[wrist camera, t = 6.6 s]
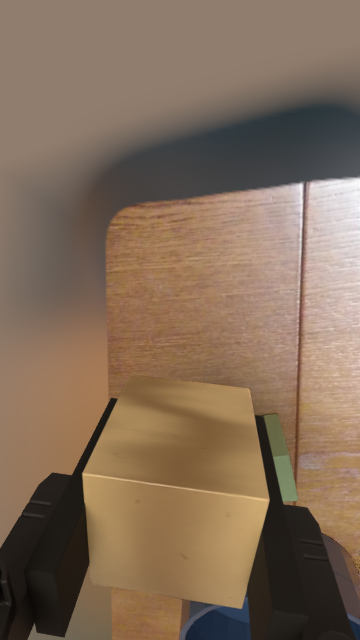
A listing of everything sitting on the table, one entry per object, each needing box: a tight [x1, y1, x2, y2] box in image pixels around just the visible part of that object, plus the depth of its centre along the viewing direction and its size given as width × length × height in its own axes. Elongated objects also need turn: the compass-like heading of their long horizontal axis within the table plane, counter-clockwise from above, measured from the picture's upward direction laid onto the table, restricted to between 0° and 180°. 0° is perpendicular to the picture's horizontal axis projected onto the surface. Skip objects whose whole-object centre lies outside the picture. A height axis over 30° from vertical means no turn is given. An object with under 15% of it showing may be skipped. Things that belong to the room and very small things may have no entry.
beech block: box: [82, 375, 270, 609], centre depth 11 cm, size 5×5×5 cm
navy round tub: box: [179, 534, 360, 640], centre depth 34 cm, size 20×20×7 cm
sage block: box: [264, 414, 298, 502], centre depth 27 cm, size 5×5×5 cm
